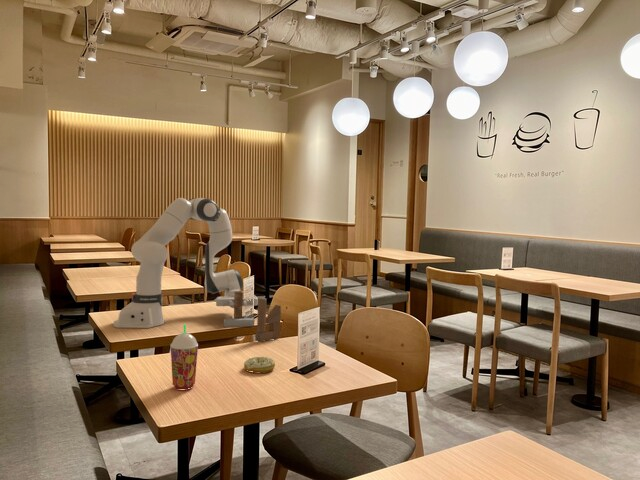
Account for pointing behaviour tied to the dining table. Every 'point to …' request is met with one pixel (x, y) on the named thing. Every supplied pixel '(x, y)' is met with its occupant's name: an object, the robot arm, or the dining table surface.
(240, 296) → the plank
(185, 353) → the smoothie
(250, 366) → the decorated donut
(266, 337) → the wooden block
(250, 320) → the socket
